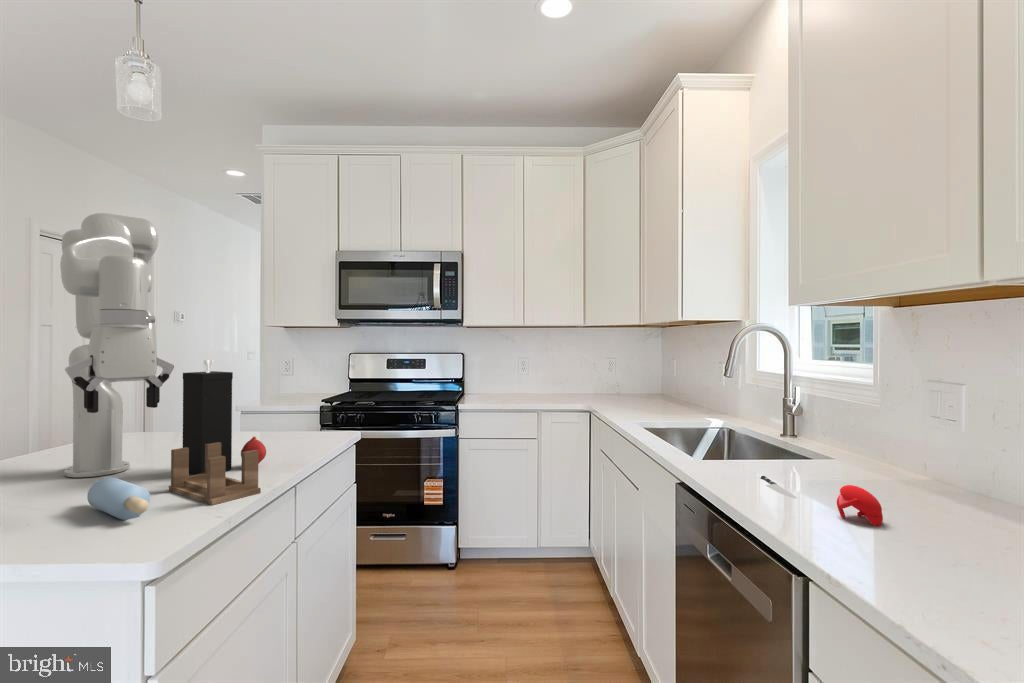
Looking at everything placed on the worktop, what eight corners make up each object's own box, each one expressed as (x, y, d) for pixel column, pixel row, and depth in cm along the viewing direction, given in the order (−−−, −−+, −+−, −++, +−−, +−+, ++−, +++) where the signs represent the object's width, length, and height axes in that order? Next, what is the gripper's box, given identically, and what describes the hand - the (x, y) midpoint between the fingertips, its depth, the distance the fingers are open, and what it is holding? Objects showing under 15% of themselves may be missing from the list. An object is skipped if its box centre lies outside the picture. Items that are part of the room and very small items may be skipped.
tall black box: (181, 473, 125) (182, 359, 125) (213, 466, 132) (214, 358, 132) (200, 477, 122) (201, 360, 122) (232, 470, 129) (233, 359, 129)
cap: (823, 497, 98) (845, 488, 93) (842, 484, 100) (865, 475, 95) (853, 536, 95) (878, 529, 90) (872, 521, 97) (898, 514, 92)
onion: (235, 469, 129) (235, 437, 129) (250, 463, 135) (251, 433, 135) (256, 470, 128) (256, 438, 128) (270, 464, 134) (271, 434, 134)
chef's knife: (789, 504, 105) (804, 504, 105) (789, 499, 105) (804, 498, 105) (751, 479, 125) (764, 479, 124) (751, 474, 125) (764, 474, 124)
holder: (168, 490, 111) (169, 449, 111) (216, 480, 119) (216, 441, 119) (212, 505, 101) (212, 459, 101) (260, 492, 109) (260, 451, 109)
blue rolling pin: (79, 509, 99) (78, 478, 99) (116, 500, 104) (115, 471, 104) (121, 529, 88) (120, 494, 88) (160, 517, 94) (159, 485, 93)
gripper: (164, 323, 107) (164, 405, 107) (58, 319, 93) (58, 413, 92) (181, 321, 103) (182, 406, 103) (74, 317, 89) (74, 415, 88)
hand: (123, 409), depth 98 cm, fingers open, 9 cm apart
